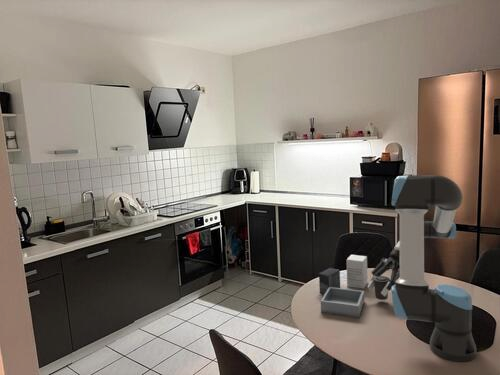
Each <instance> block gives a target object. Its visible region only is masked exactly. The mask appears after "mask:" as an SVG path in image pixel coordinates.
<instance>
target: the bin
mask: <svg viewBox="0 0 500 375" xmlns="http://www.w3.org/2000/svg"><path fill="white" fill-rule="evenodd" d="M364 304H365V290H359V289H358V290H356V289H350V288H349V289H348V288H342V287H340V288H334V287H329V288H328V289H327V291H326V293H325V294H323V296H322V298H321V300H320V313H322V314H327V315H328V314H330V315H336V316H342V317H351V318H358V319H359V318H360V316H361V313H362V312H363V308H364Z"/></svg>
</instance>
